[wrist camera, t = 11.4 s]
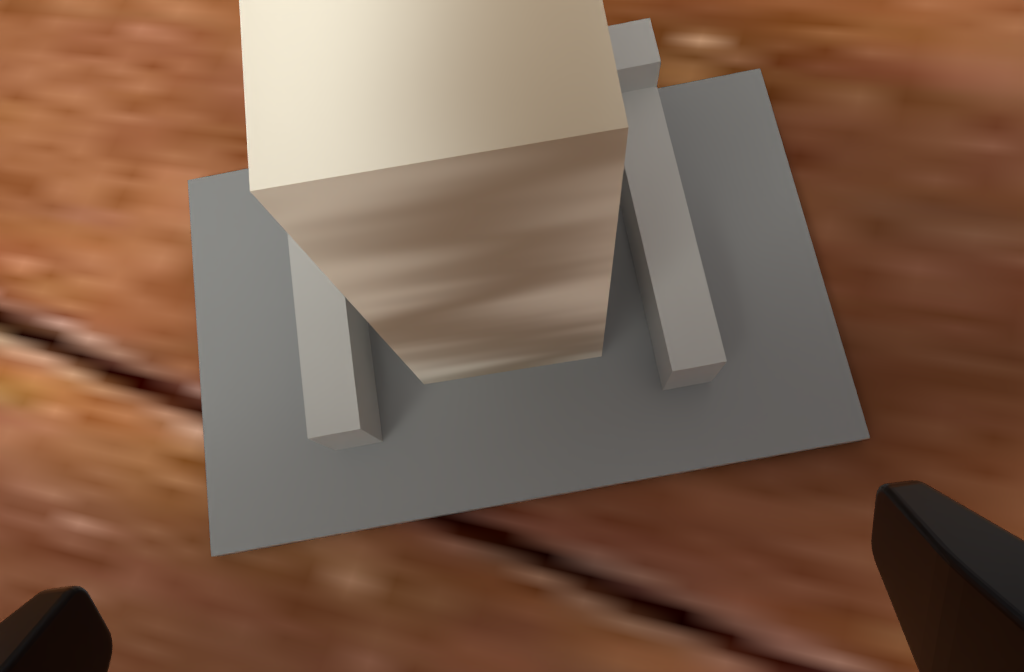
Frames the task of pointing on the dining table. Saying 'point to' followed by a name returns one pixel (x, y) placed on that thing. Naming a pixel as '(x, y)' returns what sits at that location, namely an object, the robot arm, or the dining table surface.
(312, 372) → the keeper bracket
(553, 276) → the link block
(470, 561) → the dining table surface
